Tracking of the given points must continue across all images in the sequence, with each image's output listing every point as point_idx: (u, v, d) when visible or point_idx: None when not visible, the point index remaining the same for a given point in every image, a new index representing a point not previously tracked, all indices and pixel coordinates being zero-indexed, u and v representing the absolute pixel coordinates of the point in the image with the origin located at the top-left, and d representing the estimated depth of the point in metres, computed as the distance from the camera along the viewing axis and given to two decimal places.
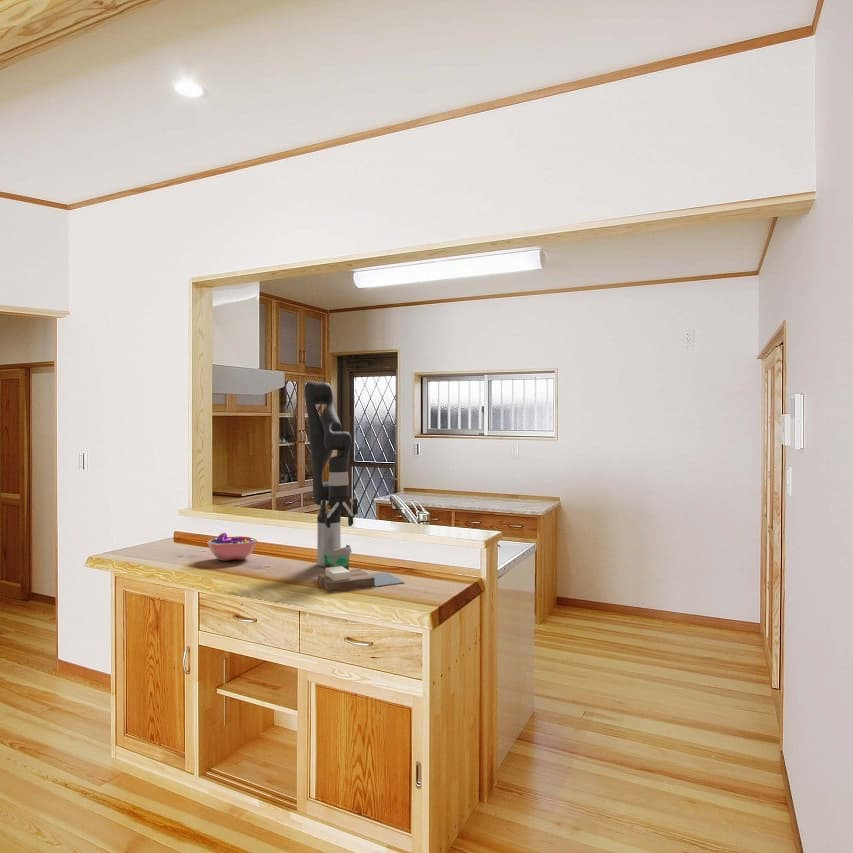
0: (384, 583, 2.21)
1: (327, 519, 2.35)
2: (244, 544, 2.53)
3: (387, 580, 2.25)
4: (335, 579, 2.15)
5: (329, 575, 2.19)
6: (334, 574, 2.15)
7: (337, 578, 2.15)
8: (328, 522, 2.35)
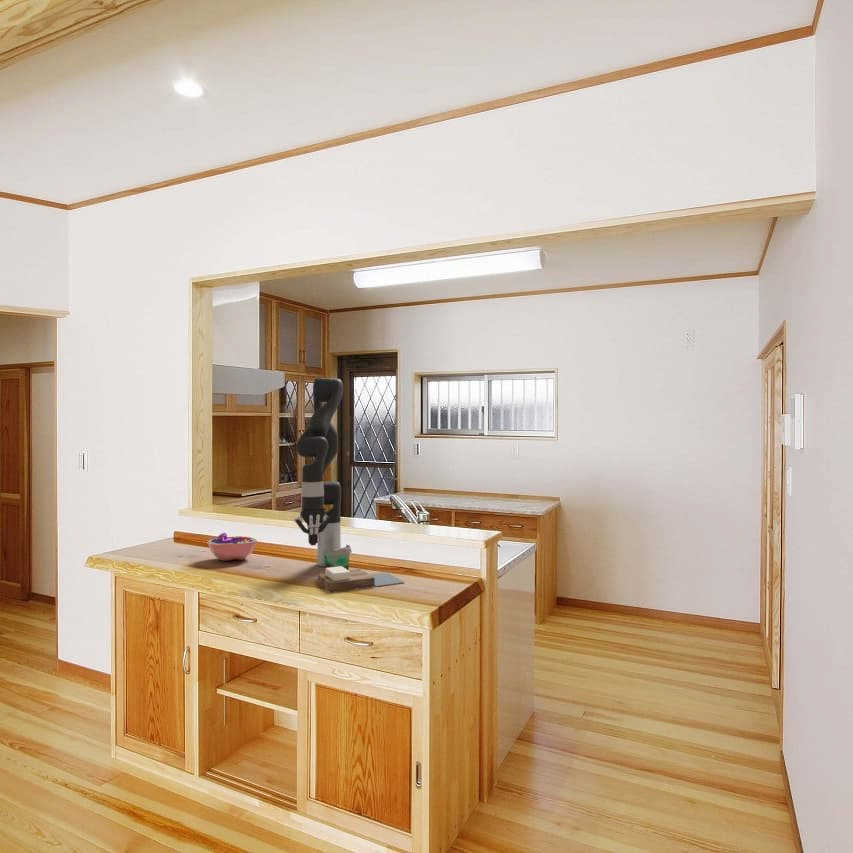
0: (384, 583, 2.21)
1: (310, 536, 2.14)
2: (244, 544, 2.53)
3: (387, 580, 2.25)
4: (335, 579, 2.15)
5: (329, 575, 2.19)
6: (334, 574, 2.15)
7: (337, 578, 2.15)
8: (311, 539, 2.14)
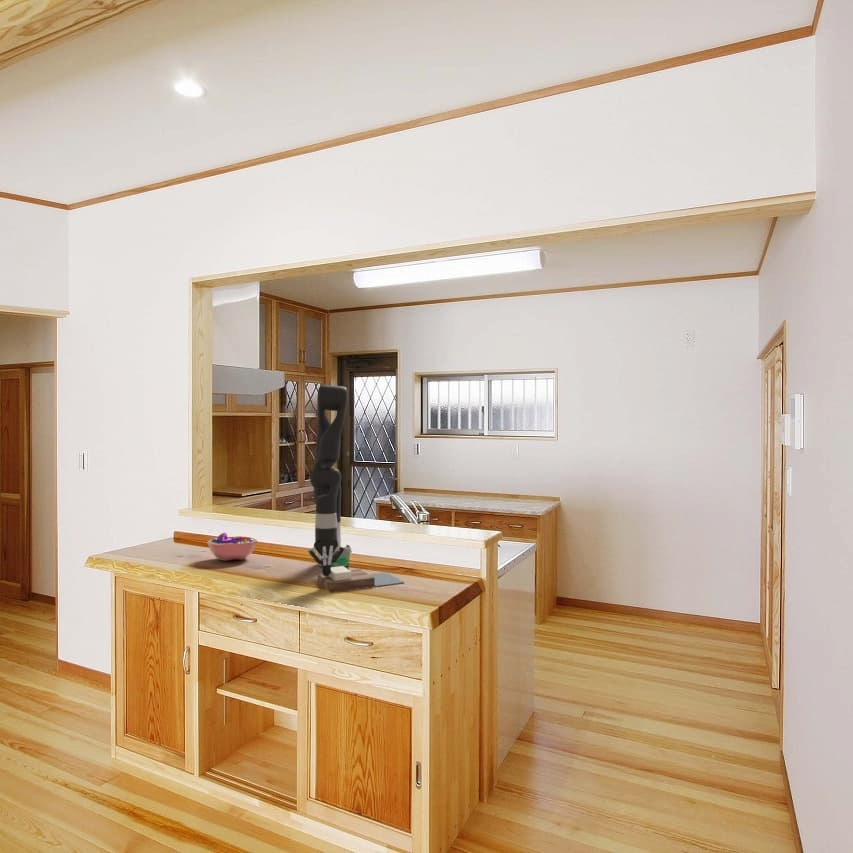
0: (384, 583, 2.21)
1: (324, 566, 2.17)
2: (244, 544, 2.53)
3: (387, 580, 2.25)
4: (336, 579, 2.15)
5: (330, 575, 2.19)
6: (335, 574, 2.15)
7: (338, 578, 2.15)
8: (325, 570, 2.17)
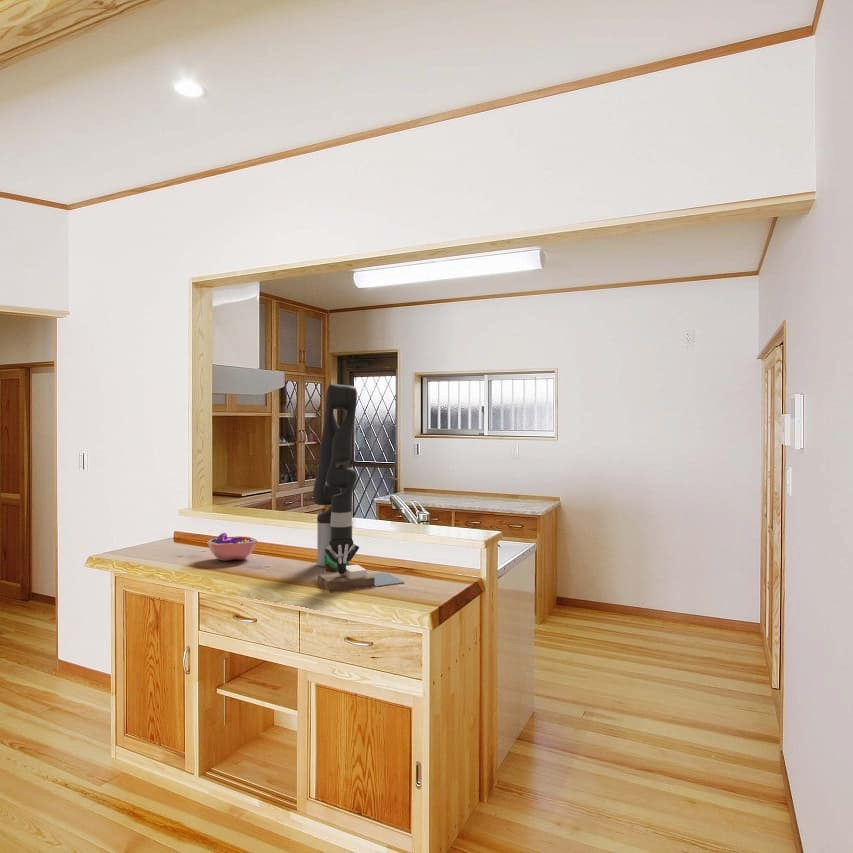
0: (384, 583, 2.21)
1: (339, 565, 2.19)
2: (244, 544, 2.53)
3: (387, 580, 2.25)
4: (351, 577, 2.17)
5: (345, 573, 2.21)
6: (350, 572, 2.17)
7: (353, 576, 2.18)
8: (340, 568, 2.19)
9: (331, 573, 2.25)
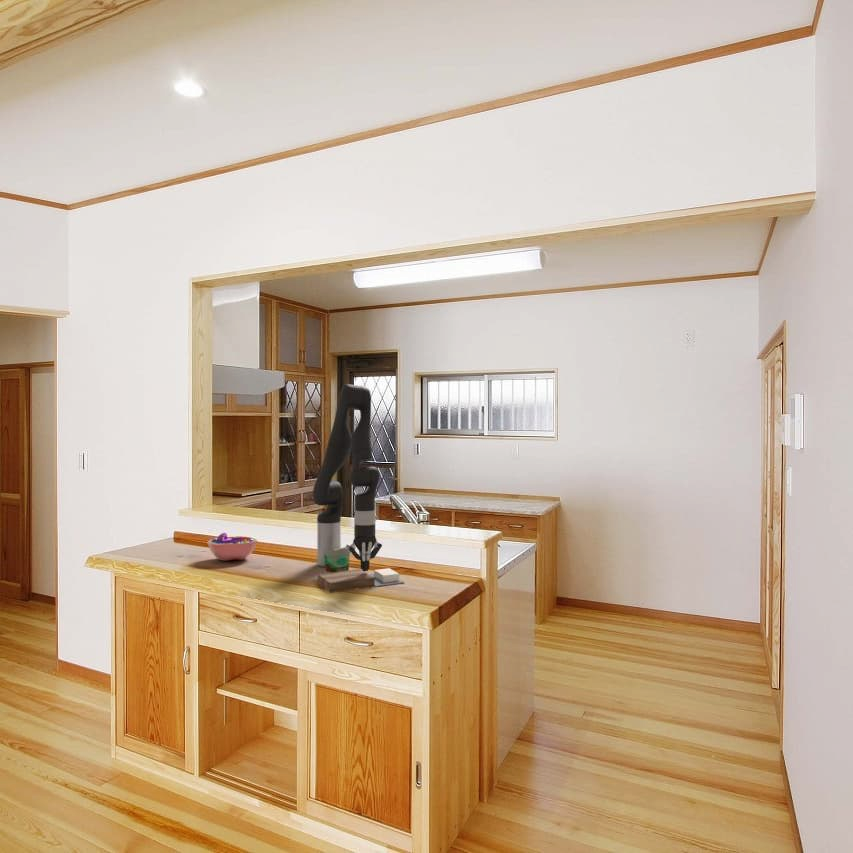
0: (384, 583, 2.21)
1: (363, 562, 2.23)
2: (244, 544, 2.53)
3: None
4: (397, 575, 2.24)
5: None
6: (398, 579, 2.25)
7: (395, 575, 2.24)
8: (364, 565, 2.23)
9: (331, 573, 2.25)
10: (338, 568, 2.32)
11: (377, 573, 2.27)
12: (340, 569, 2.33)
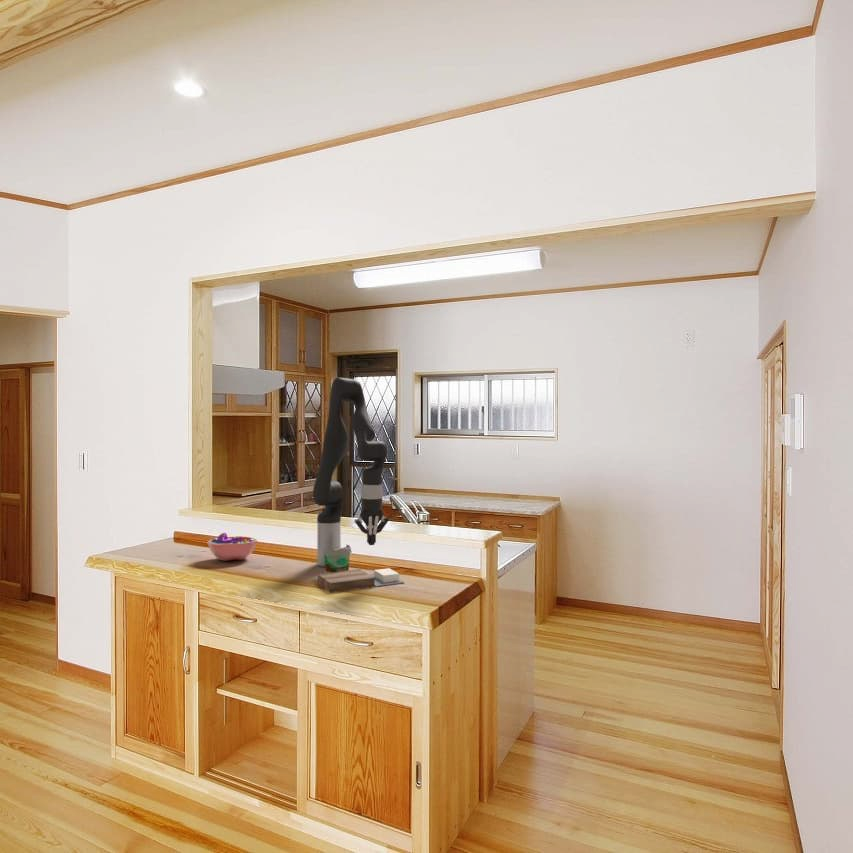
0: (384, 583, 2.21)
1: (369, 536, 2.24)
2: (244, 544, 2.53)
3: None
4: (397, 575, 2.24)
5: None
6: (398, 579, 2.25)
7: (395, 575, 2.24)
8: (370, 539, 2.24)
9: (331, 573, 2.25)
10: (338, 568, 2.32)
11: (377, 573, 2.27)
12: (340, 569, 2.33)
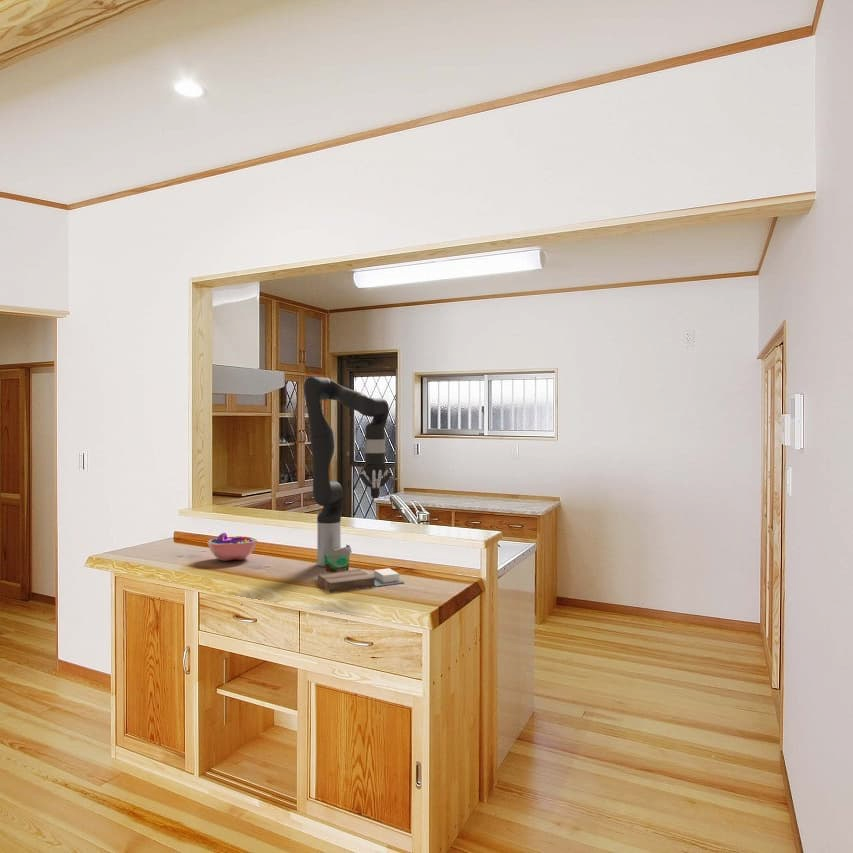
0: (384, 583, 2.21)
1: (373, 489, 2.32)
2: (244, 544, 2.53)
3: None
4: (397, 575, 2.24)
5: None
6: (398, 579, 2.25)
7: (395, 575, 2.24)
8: (374, 492, 2.32)
9: (331, 573, 2.25)
10: (338, 568, 2.32)
11: (377, 573, 2.27)
12: (340, 569, 2.33)
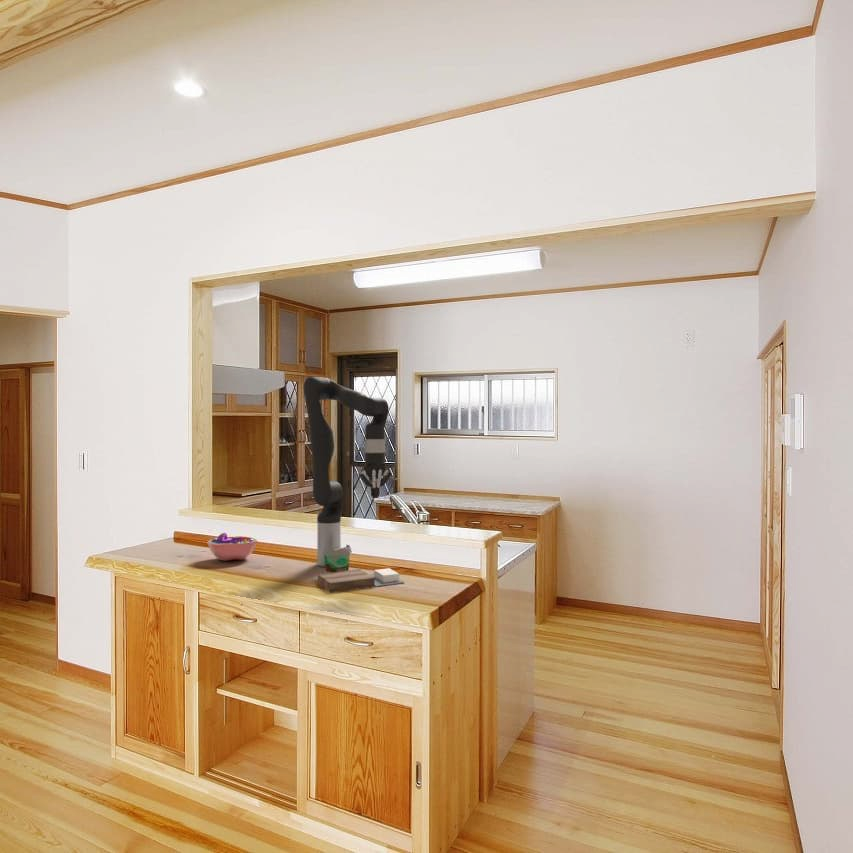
0: (384, 583, 2.21)
1: (373, 489, 2.32)
2: (244, 544, 2.53)
3: None
4: (397, 575, 2.24)
5: None
6: (398, 579, 2.25)
7: (395, 575, 2.24)
8: (374, 492, 2.32)
9: (331, 573, 2.25)
10: (338, 568, 2.32)
11: (377, 573, 2.27)
12: (340, 569, 2.33)
